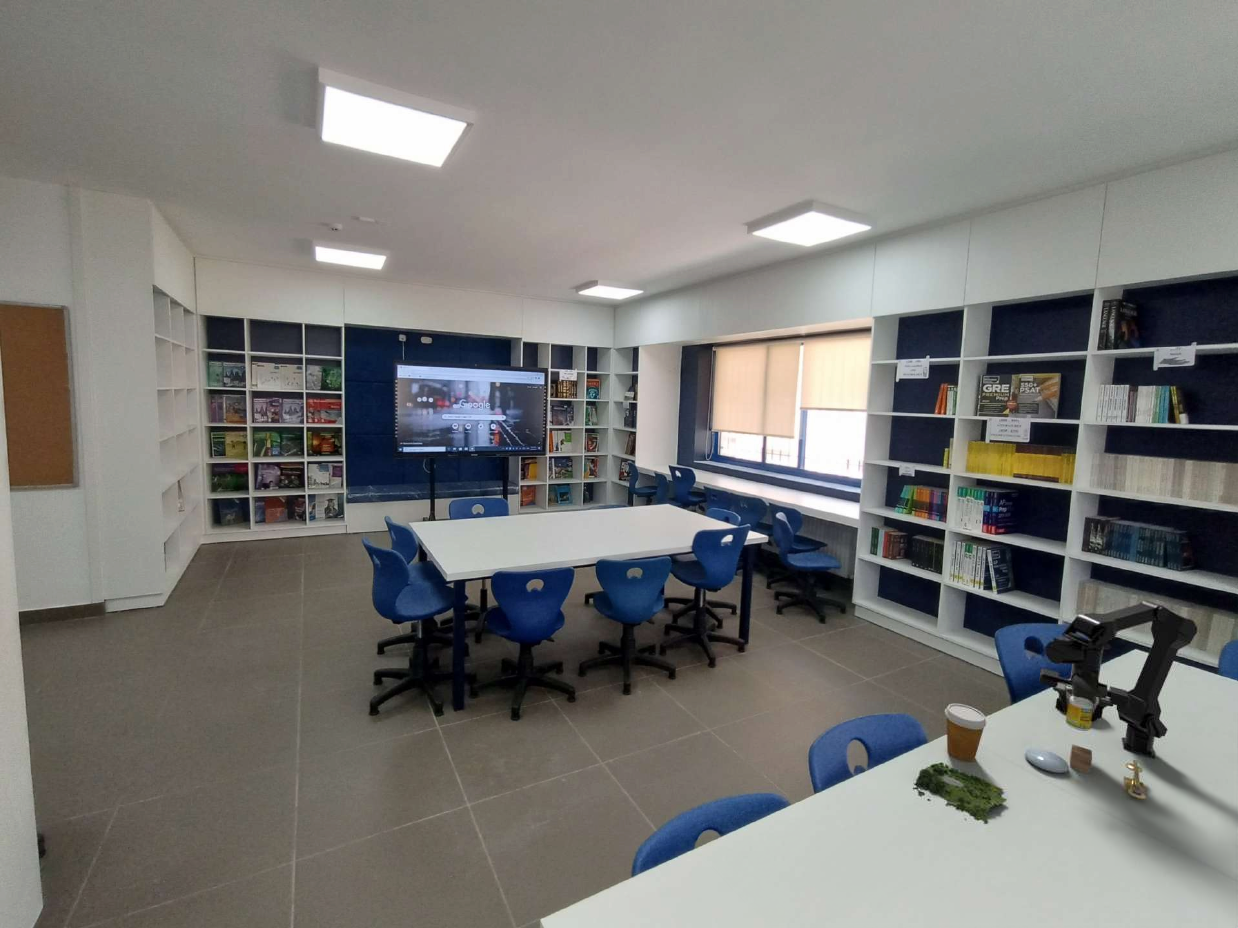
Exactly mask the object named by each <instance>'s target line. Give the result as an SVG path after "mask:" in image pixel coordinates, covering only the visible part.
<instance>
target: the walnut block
mask: <svg viewBox="0 0 1238 928" xmlns="http://www.w3.org/2000/svg"><path fill="white" fill-rule="evenodd" d="M1069 756H1070V757H1069V768H1072V769H1076V770H1078V771H1081V772H1083V773H1085V774H1091V769H1092V760H1093V751H1092V750H1091V749H1088V748H1086V747H1083V746H1079V745H1076V744H1073V743H1072V744H1071V750H1070V755H1069Z"/></svg>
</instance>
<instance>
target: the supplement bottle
mask: <svg viewBox="0 0 1238 928" xmlns="http://www.w3.org/2000/svg"><path fill="white" fill-rule="evenodd" d="M1092 713H1093V704H1092V703H1091V702H1090V701H1089V700H1088V699H1084V698H1081V697H1075V696H1074V695H1073V694H1072V696H1071V697H1069V699H1068V705H1067V714H1065V723H1066V725H1067V726H1068V727H1070V728H1072V729H1075V730H1077V731H1082V732H1089V731H1090V730H1091V726H1092V722H1091V720H1092Z"/></svg>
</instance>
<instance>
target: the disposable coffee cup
mask: <svg viewBox="0 0 1238 928" xmlns="http://www.w3.org/2000/svg"><path fill="white" fill-rule="evenodd" d="M944 714H945V717H946V741H947V742H946V747H947V749H946V750H947V753H948V754H949V755H950V756H951V757H952V758H954V759H956V760H959V761H963V762H967V763H968V762H970V763H971V762H974V761H975V759H976V756H977V753H978V749H979V746H980V743H981V739H982V735H983V732H984V730H985V729H984V728H985V727H986V726H987V720H986V715H985V714H984V713H983V712H982V711H980V710H979V709H976V708H974V707H972V706H970V705H966V704H962V703H950V704H948V706H947V707H946V708H945V709H944Z"/></svg>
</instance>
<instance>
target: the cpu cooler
mask: <svg viewBox="0 0 1238 928" xmlns="http://www.w3.org/2000/svg"><path fill="white" fill-rule="evenodd" d="M1066 688H1067V705H1068V699H1069V697H1071V696H1072V688H1071V687H1066ZM1096 699H1097V697H1096ZM1090 702H1091V703H1092V704H1093V709H1094V706H1095V702H1096V700H1095V701H1090ZM1055 709H1057V711H1060V712H1062V713H1064V709H1063V705H1062V701H1061V698H1060V695H1059V694H1058V697H1057V698H1056V701H1055ZM1103 712H1104V709H1103V710H1102V711H1101V712H1100V713H1099V715H1098V716H1097V718H1096V719H1095V720H1094V722H1095V721H1097V720H1099V719H1101V718H1103ZM1091 723H1093V722H1092V721H1091Z"/></svg>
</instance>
